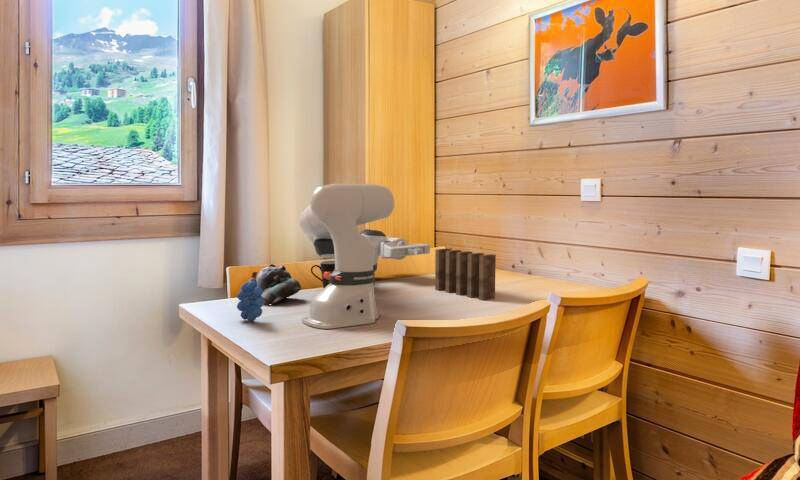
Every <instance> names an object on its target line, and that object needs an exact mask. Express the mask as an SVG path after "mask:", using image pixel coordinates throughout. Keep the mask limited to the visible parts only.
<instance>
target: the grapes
mask: <svg viewBox="0 0 800 480" xmlns="http://www.w3.org/2000/svg"><path fill="white" fill-rule="evenodd" d="M262 293H263V289H262V288H261V287H259V286H258V285H257V283H256V282H255V281H250V282H249V283H248V281H246V282H244V283H243V284H242V285H241V288H240V290H239V291H238V293H237V295H236V297H237V299H238V300H239V302H238V303H237V304H236V308H237V310H238V311H240V317H241V319H243V320H247V321H248V322H249V323H253V322H255V321H256V319H257V318H259V317H261V316H262V315H263V314H262V313H263V308H262V307H263V306H265V305H264V303H265V300H264V298H263V297H262V296H261V295H262Z"/></svg>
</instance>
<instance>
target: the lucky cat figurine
mask: <svg viewBox="0 0 800 480" xmlns="http://www.w3.org/2000/svg"><path fill="white" fill-rule="evenodd" d="M292 277H293V276H291V273H290V272H289V271H288V270H287V269H286V266H285V265H280V266H279V267H277V266H276V265H275V264H272V263H271V264H269V265H268V266H267V267H264V268H262V269H260V270H259V271H253V272H252V273H251V278H250V279H248V281H247V282H248V283H249V282H250V281H255V282H256V283H257V285H258V286H259V287H261V288H262V289H263V293H262V295H261V296H262V297H263V298H264V300H265V303H264V304H273V305H274V304H275V303H278V302H279V301H283V300H284V299H287V298H286V297H289V298H290V297H291V296H293V295H296V294H297V293H299V292H300V291H301V290H302V286H301V283H300V282H299V281H298V280H297V279H295V278H292Z"/></svg>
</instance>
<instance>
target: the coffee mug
mask: <svg viewBox="0 0 800 480" xmlns="http://www.w3.org/2000/svg"><path fill="white" fill-rule="evenodd" d="M319 263H320V265H319V264H315V265H312V266H311V267H310V273H311V274H312V275H313V276H314V277H315V278H316V279H317V280H320V282H322V285H323V286H322V288H323V289H324V288H325V287H326V286H327V285H328V284H330V279H331V278H330V279H325V277H323V275H324V272H330V273H331V274H332V273H333V271H334V269H335V260H322V261H319ZM315 267H316V268H319V271H321V278H320V277H319V276H318V275H316V274H315V273H314V272H313V269H314V268H315Z"/></svg>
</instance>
